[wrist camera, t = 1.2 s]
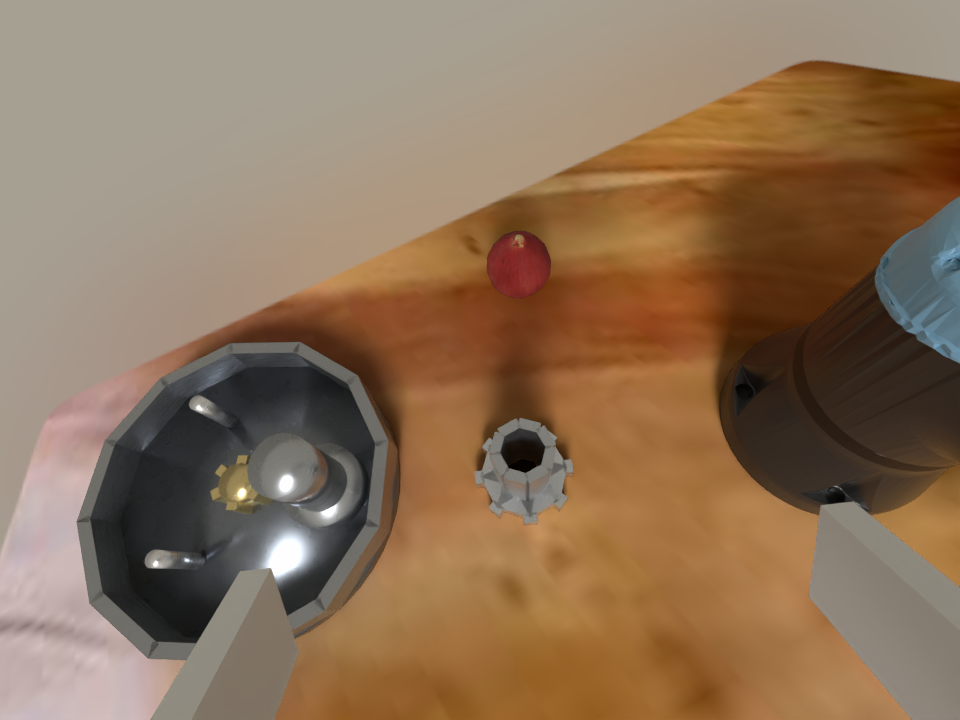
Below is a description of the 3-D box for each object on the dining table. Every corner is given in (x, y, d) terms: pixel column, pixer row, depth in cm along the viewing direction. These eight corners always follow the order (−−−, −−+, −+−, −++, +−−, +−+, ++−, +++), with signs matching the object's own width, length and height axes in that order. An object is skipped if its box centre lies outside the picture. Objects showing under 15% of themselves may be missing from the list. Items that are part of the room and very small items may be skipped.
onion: (482, 272, 49) (474, 218, 42) (537, 256, 49) (538, 199, 42) (500, 320, 46) (494, 272, 39) (557, 303, 47) (562, 252, 39)
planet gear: (539, 416, 42) (541, 377, 34) (588, 494, 39) (603, 471, 31) (462, 459, 41) (446, 429, 33) (507, 542, 38) (501, 532, 30)
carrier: (339, 321, 48) (292, 256, 38) (449, 549, 38) (423, 539, 29) (102, 440, 45) (-12, 402, 35) (157, 720, 35) (20, 772, 26)
